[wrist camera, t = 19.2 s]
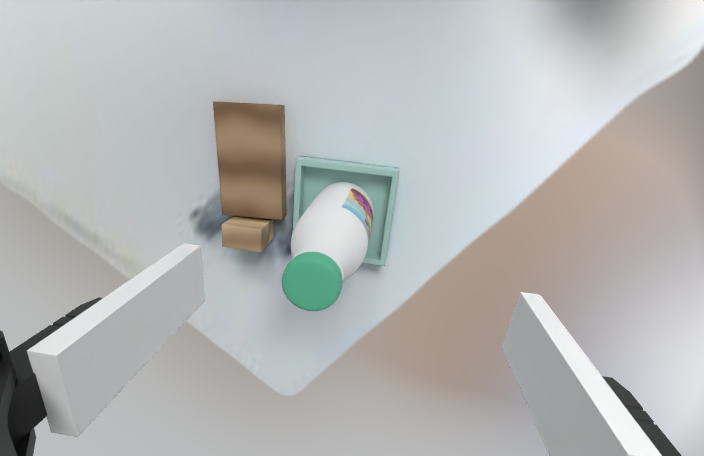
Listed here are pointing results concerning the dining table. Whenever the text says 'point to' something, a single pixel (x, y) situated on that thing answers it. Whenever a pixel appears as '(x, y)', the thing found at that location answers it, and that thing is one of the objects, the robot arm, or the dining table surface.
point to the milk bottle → (328, 245)
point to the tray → (370, 178)
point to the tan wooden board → (251, 159)
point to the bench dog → (247, 233)
